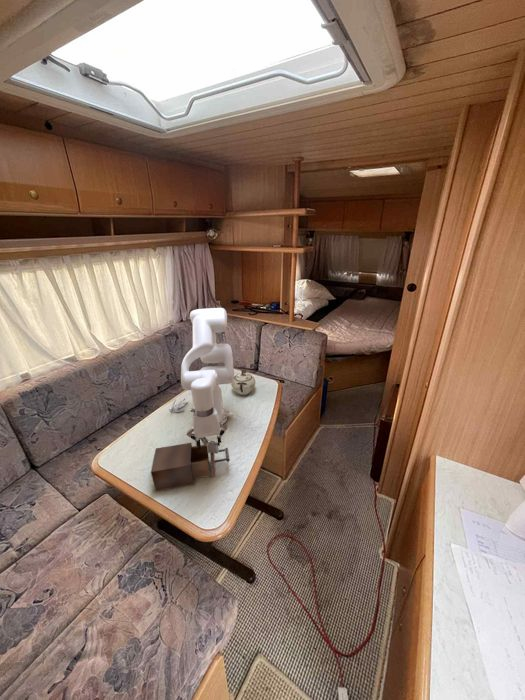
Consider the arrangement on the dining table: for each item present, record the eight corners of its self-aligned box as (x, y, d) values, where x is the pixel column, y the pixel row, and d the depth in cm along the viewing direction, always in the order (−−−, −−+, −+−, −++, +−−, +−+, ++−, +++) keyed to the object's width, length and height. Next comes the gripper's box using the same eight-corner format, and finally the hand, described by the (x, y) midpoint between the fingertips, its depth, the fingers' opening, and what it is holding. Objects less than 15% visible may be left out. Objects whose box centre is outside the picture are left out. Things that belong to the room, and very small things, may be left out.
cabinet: (194, 460, 121) (191, 442, 117) (193, 483, 110) (190, 464, 106) (159, 466, 118) (155, 448, 114) (155, 490, 107) (150, 472, 103)
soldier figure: (190, 406, 160) (178, 412, 149) (185, 411, 161) (173, 417, 150) (183, 395, 161) (170, 401, 150) (178, 400, 162) (165, 406, 151)
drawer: (228, 453, 123) (226, 439, 119) (231, 473, 112) (229, 458, 109) (183, 461, 119) (180, 446, 116) (181, 483, 109) (178, 467, 106)
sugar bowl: (234, 383, 181) (233, 363, 175) (257, 383, 180) (256, 363, 174) (229, 400, 163) (227, 378, 157) (254, 400, 162) (253, 378, 156)
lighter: (219, 450, 113) (217, 435, 110) (217, 453, 111) (215, 438, 108) (202, 448, 114) (200, 433, 111) (201, 451, 113) (198, 436, 110)
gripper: (180, 418, 100) (187, 455, 107) (228, 411, 103) (231, 448, 110) (181, 407, 106) (187, 442, 113) (226, 400, 109) (229, 435, 117)
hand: (209, 445), depth 112 cm, fingers closed on lighter, 7 cm apart
